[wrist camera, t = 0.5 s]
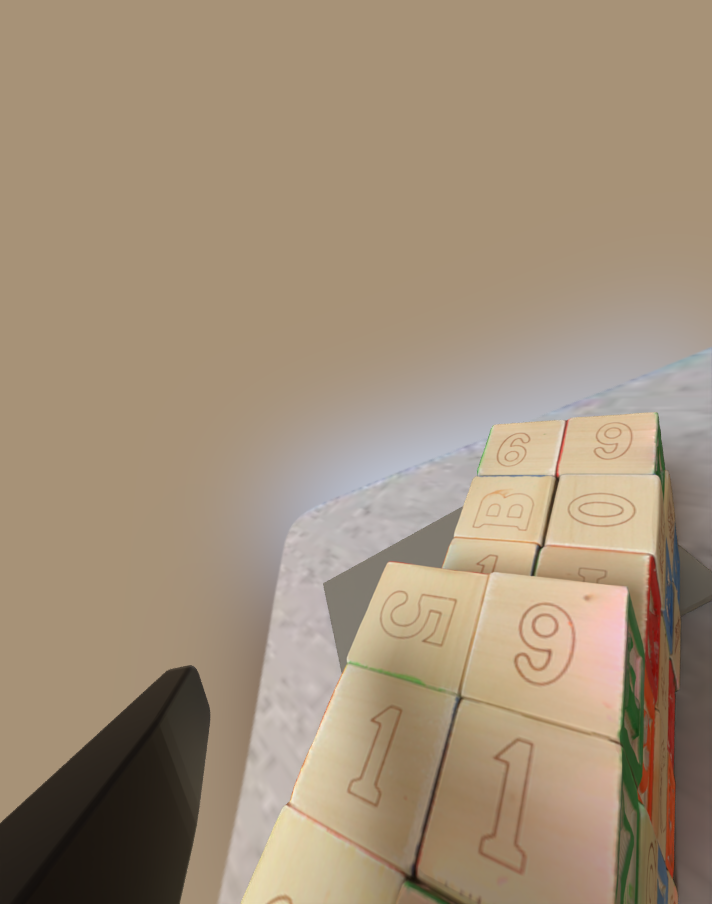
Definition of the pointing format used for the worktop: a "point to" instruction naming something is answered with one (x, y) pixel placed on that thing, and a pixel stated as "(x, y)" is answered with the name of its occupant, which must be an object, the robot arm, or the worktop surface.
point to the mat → (429, 549)
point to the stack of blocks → (508, 696)
